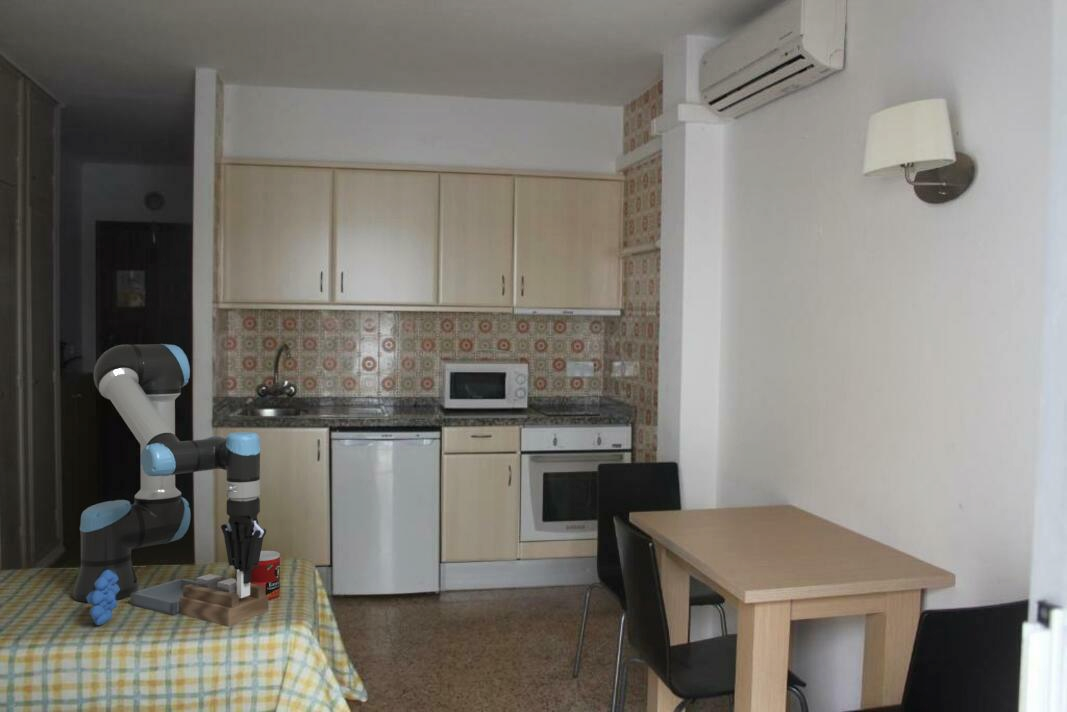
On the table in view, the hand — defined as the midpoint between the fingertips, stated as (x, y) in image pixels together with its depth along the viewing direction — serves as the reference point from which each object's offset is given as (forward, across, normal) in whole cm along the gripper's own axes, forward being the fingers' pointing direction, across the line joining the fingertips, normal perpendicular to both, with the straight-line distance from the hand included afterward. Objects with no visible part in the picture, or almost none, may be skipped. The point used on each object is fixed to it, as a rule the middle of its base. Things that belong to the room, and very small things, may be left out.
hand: (243, 596), depth 202 cm
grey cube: (+1, -5, 0) cm, 5 cm away
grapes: (+6, -26, -19) cm, 33 cm away
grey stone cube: (+1, -12, 0) cm, 12 cm away
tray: (+5, -24, 0) cm, 24 cm away
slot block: (+5, -7, 0) cm, 8 cm away
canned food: (+6, -8, +14) cm, 17 cm away
